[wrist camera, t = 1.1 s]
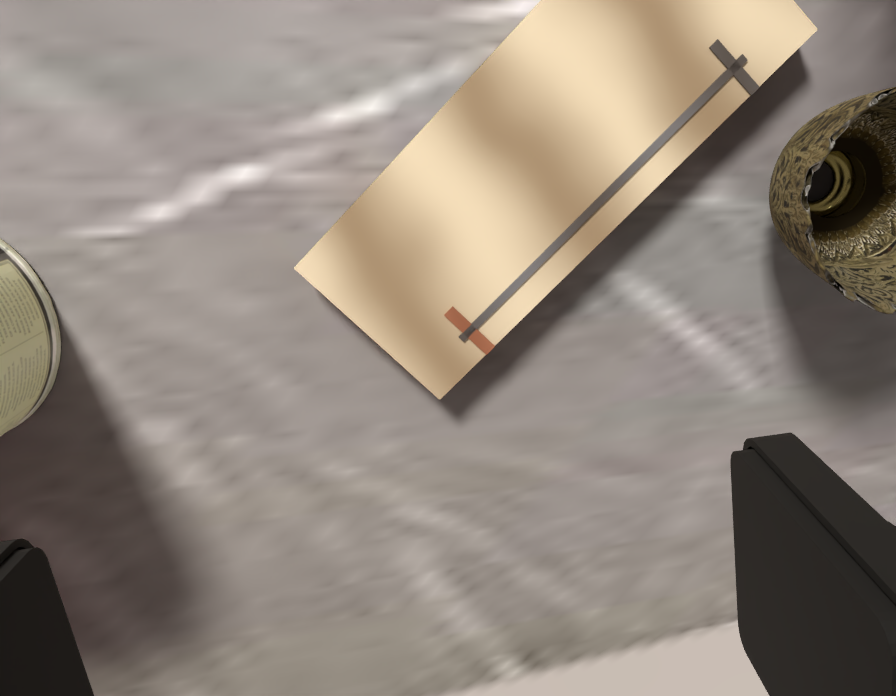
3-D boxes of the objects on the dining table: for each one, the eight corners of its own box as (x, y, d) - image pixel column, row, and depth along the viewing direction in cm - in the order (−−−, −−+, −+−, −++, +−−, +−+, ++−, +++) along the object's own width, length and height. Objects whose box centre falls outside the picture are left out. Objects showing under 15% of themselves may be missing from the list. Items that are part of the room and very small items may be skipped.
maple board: (658, -127, 29) (674, -145, 27) (794, 34, 31) (818, 29, 29) (302, 259, 33) (293, 268, 31) (439, 384, 35) (439, 400, 33)
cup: (874, 281, 34) (1002, 330, 26) (705, 259, 33) (785, 302, 26) (927, 99, 32) (1083, 94, 24) (747, 74, 31) (848, 60, 24)
